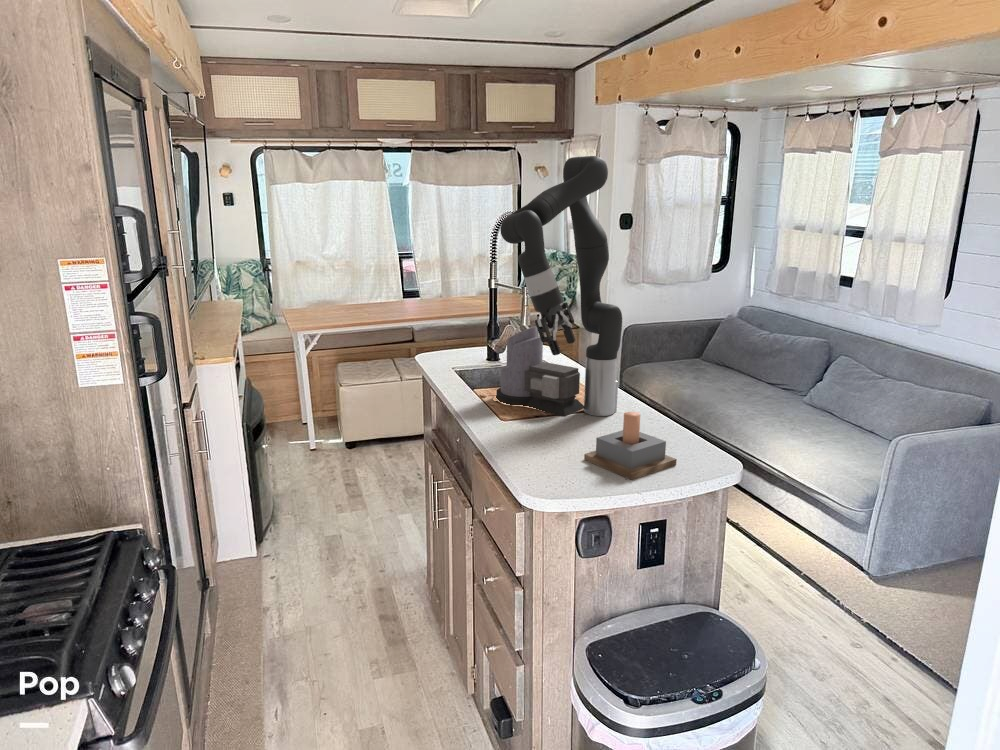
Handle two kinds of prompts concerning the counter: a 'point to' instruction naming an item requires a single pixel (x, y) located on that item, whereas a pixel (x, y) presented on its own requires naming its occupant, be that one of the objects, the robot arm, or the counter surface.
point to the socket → (630, 449)
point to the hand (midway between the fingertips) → (564, 348)
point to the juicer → (537, 378)
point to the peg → (631, 428)
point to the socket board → (626, 471)
